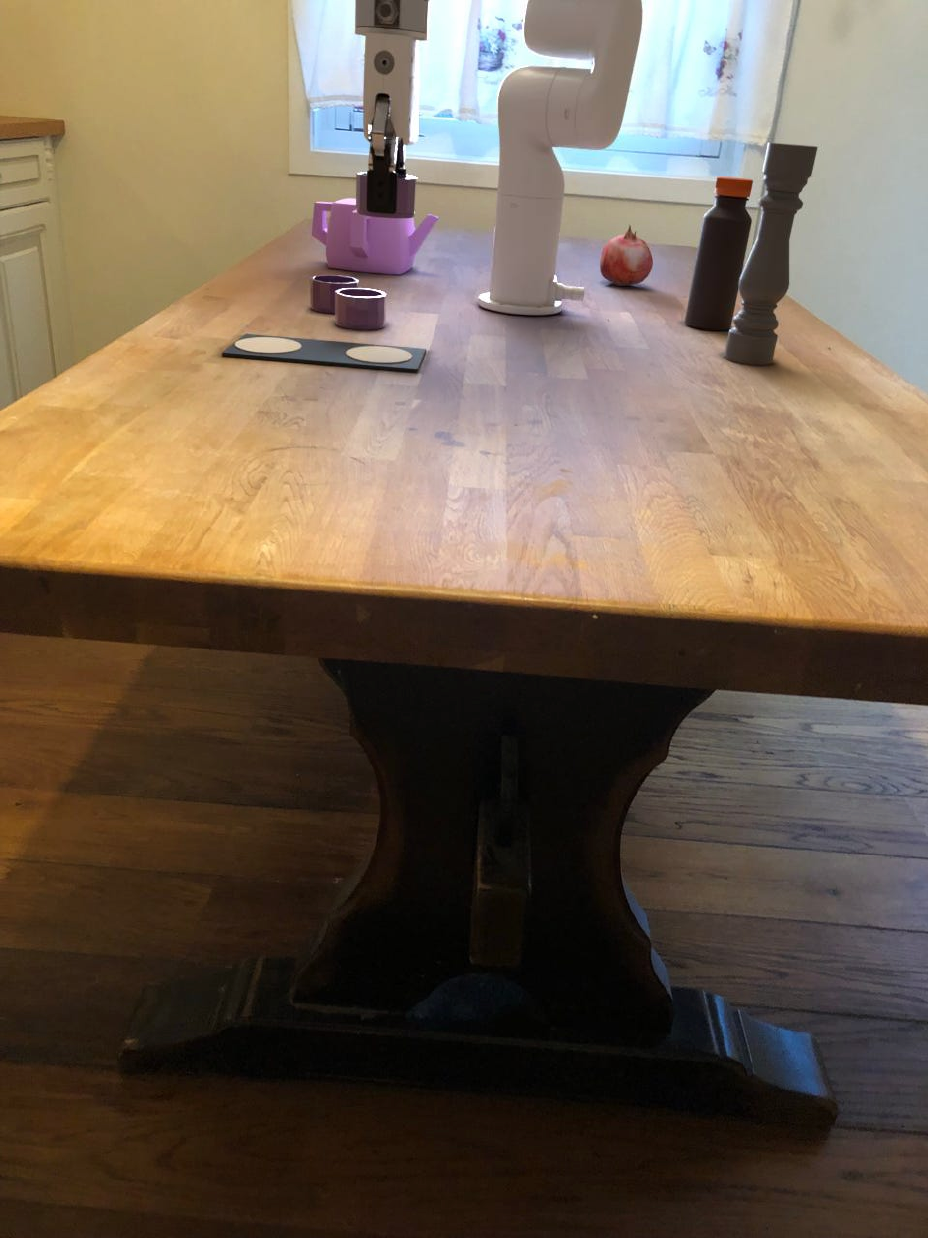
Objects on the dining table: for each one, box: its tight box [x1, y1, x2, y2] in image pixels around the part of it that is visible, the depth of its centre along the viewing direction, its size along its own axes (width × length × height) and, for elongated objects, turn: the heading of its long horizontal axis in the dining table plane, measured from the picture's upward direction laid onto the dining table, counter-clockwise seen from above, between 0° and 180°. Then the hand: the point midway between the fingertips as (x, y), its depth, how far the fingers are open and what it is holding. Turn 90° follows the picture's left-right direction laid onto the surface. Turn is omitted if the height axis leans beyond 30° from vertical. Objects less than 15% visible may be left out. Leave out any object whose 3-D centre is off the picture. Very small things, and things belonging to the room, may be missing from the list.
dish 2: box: [334, 287, 387, 331], centre depth 125 cm, size 6×7×4 cm
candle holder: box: [723, 142, 819, 366], centre depth 117 cm, size 6×6×25 cm
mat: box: [221, 333, 427, 374], centre depth 110 cm, size 22×10×1 cm, turn 86°
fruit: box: [599, 224, 654, 287], centre depth 167 cm, size 9×10×10 cm
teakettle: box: [311, 197, 439, 275], centre depth 164 cm, size 17×17×12 cm
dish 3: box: [355, 171, 418, 219], centre depth 105 cm, size 6×7×4 cm
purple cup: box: [309, 274, 360, 315], centre depth 132 cm, size 6×7×4 cm
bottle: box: [684, 176, 754, 331], centre depth 136 cm, size 7×7×20 cm
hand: (386, 207), depth 106 cm, fingers closed on dish 3, 6 cm apart
